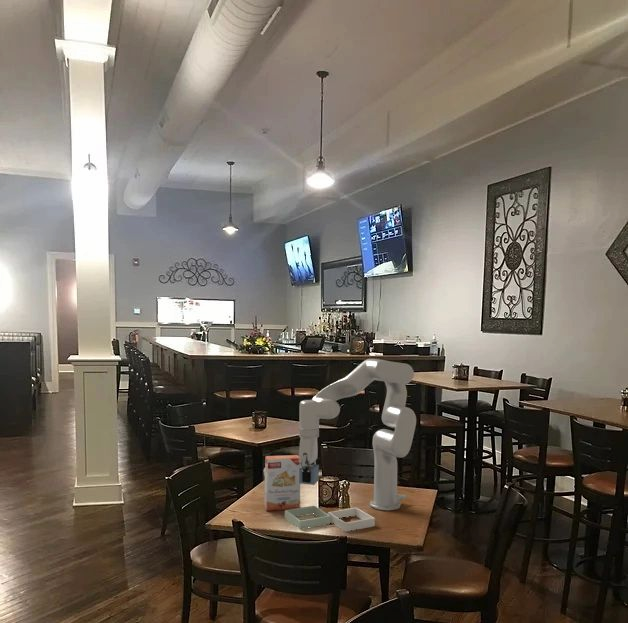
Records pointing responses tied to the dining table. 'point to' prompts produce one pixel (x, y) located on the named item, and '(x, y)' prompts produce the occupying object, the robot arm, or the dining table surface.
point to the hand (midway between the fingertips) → (309, 479)
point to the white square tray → (364, 523)
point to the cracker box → (282, 482)
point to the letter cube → (314, 474)
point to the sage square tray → (322, 519)
